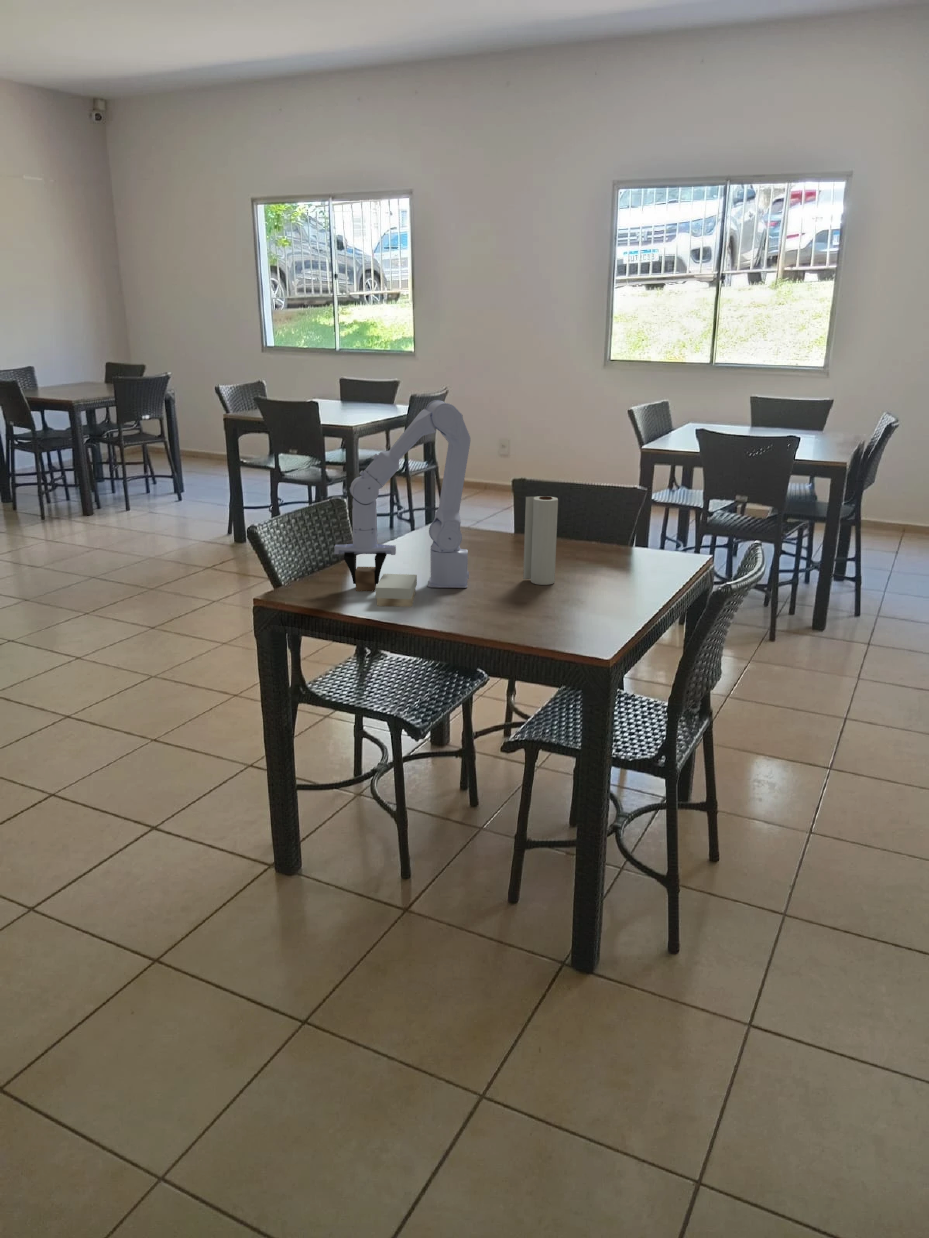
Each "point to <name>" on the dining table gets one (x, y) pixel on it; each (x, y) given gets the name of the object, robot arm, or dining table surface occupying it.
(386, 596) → the slab top
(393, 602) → the slab bottom
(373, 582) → the walnut block
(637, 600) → the dining table surface
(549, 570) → the paper towel roll
